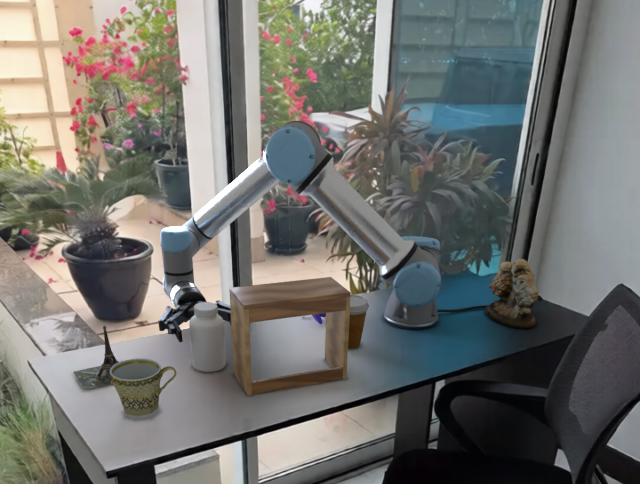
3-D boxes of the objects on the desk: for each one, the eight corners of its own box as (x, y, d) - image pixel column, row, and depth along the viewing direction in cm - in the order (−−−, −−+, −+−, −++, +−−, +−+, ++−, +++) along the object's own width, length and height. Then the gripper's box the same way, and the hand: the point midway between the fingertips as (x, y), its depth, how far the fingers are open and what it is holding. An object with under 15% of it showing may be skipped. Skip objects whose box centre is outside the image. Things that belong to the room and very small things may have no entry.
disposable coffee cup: (347, 334, 175) (349, 291, 169) (373, 345, 170) (377, 301, 163) (322, 343, 170) (323, 299, 163) (348, 355, 164) (350, 310, 158)
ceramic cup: (120, 427, 131) (113, 383, 126) (113, 404, 139) (106, 362, 134) (184, 416, 136) (180, 373, 130) (174, 395, 143) (170, 353, 138)
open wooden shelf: (233, 374, 153) (229, 287, 142) (328, 359, 162) (330, 276, 150) (247, 395, 144) (244, 305, 133) (346, 378, 153) (350, 292, 142)
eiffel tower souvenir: (138, 360, 157) (131, 307, 150) (151, 377, 150) (144, 322, 143) (73, 373, 151) (63, 318, 144) (84, 391, 143) (73, 335, 136)
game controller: (321, 319, 174) (300, 300, 179) (324, 341, 180) (304, 323, 185) (351, 302, 177) (329, 284, 182) (353, 325, 183) (332, 307, 189)
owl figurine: (472, 310, 194) (481, 253, 185) (502, 304, 199) (512, 248, 190) (514, 332, 181) (526, 271, 172) (545, 325, 186) (558, 266, 177)
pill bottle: (219, 374, 153) (215, 313, 145) (187, 370, 154) (181, 310, 146) (231, 360, 159) (228, 301, 151) (199, 356, 160) (195, 298, 153)
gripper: (237, 309, 172) (262, 340, 156) (140, 321, 163) (156, 355, 147) (235, 281, 168) (262, 310, 152) (136, 292, 159) (153, 324, 143)
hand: (210, 332), depth 150 cm, fingers open, 13 cm apart
